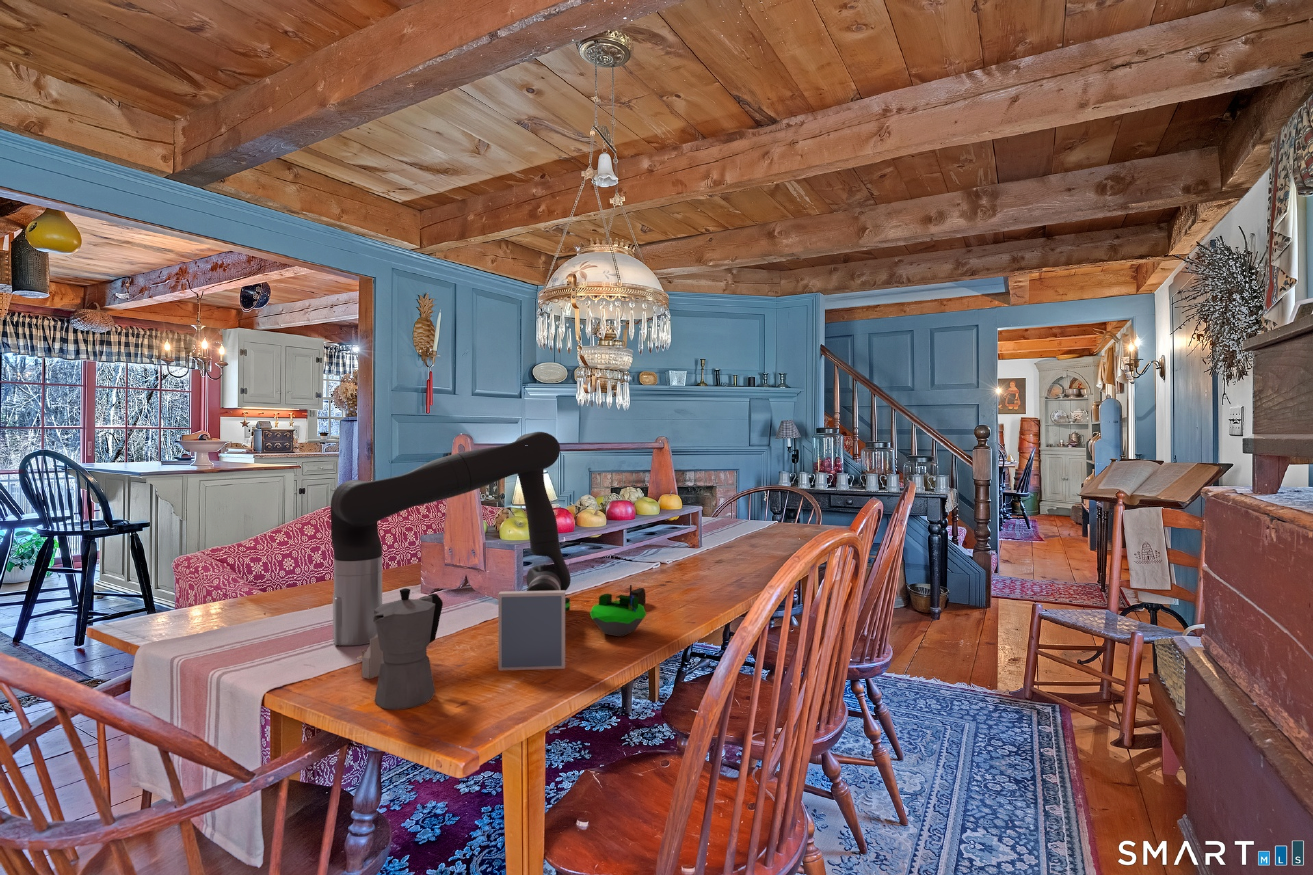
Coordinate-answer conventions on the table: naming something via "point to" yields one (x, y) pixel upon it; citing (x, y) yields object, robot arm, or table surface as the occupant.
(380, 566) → the robot arm
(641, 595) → the hand tool
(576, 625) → the table surface
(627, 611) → the floating island model
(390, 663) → the coffeepot
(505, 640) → the tile
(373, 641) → the architectural model
